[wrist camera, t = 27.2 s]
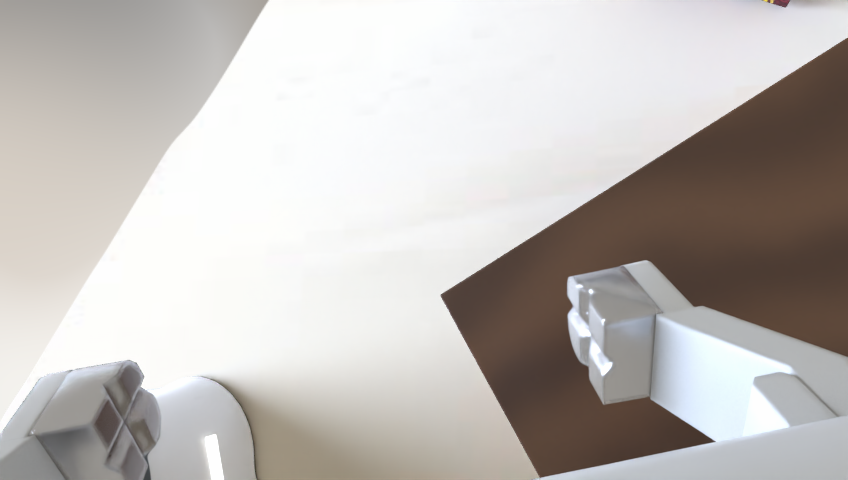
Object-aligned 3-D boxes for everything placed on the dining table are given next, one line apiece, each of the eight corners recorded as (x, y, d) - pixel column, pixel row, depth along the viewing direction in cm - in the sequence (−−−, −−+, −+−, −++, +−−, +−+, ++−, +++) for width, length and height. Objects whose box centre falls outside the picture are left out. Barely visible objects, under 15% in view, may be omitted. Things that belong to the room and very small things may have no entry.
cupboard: (909, 289, 35) (1155, 283, 18) (610, 436, 41) (573, 540, 24) (786, 139, 39) (891, 9, 21) (526, 295, 45) (439, 295, 27)
